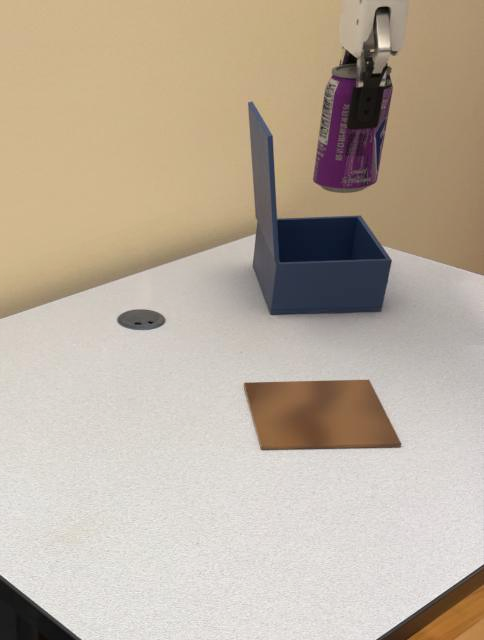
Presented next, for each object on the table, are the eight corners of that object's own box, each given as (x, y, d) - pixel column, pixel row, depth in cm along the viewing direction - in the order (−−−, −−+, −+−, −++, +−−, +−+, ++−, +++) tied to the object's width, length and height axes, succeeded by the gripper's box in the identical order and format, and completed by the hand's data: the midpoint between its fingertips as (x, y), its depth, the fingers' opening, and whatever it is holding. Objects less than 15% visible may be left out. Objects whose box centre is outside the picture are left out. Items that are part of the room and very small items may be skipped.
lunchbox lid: (252, 101, 116) (247, 102, 116) (272, 135, 103) (267, 136, 103) (259, 216, 125) (255, 217, 125) (279, 260, 112) (274, 261, 112)
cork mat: (368, 382, 101) (369, 379, 101) (400, 446, 91) (401, 443, 90) (243, 385, 102) (243, 382, 102) (260, 449, 92) (261, 446, 91)
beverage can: (363, 198, 100) (384, 77, 92) (302, 191, 103) (317, 73, 96) (384, 181, 104) (405, 63, 97) (324, 175, 108) (340, 60, 100)
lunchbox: (352, 262, 128) (360, 215, 124) (381, 311, 115) (392, 260, 111) (252, 266, 129) (257, 219, 125) (270, 314, 116) (276, 264, 112)
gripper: (449, -77, 81) (408, 137, 92) (402, -89, 94) (371, 100, 105) (364, -71, 81) (334, 141, 93) (329, -84, 95) (306, 103, 106)
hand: (354, 118), depth 99 cm, fingers closed on beverage can, 7 cm apart
